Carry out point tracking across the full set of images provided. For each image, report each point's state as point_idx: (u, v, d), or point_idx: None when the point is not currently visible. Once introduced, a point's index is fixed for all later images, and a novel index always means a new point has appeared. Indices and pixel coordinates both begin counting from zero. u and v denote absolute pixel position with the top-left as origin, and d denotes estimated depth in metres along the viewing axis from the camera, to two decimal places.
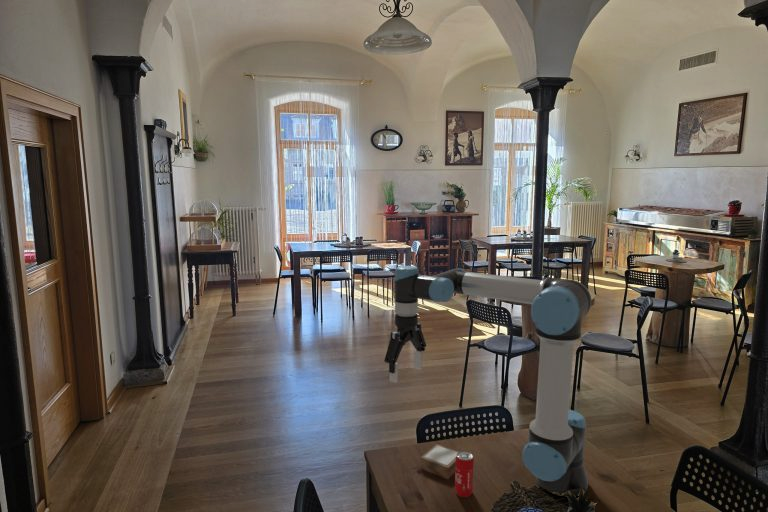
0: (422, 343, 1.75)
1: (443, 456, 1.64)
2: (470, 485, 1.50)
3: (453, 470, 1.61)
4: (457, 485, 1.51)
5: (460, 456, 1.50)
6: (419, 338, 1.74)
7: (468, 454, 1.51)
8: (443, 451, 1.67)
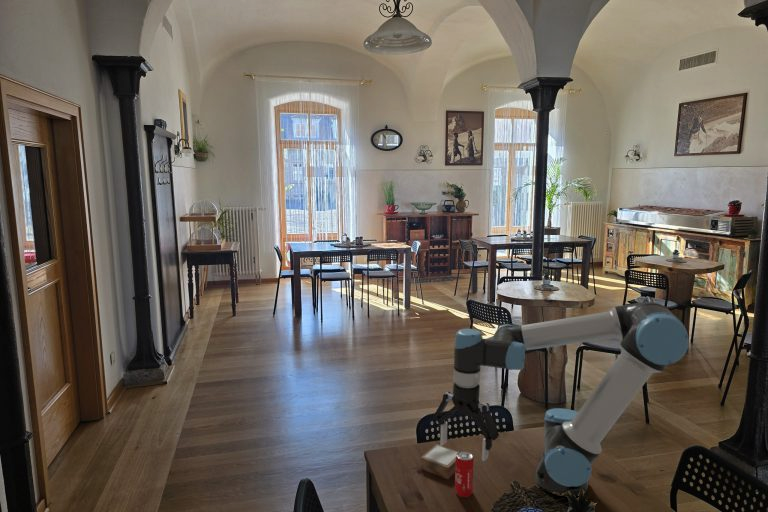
0: (489, 432, 1.43)
1: (443, 456, 1.64)
2: (470, 485, 1.50)
3: (453, 470, 1.61)
4: (457, 485, 1.51)
5: (460, 456, 1.50)
6: None
7: (468, 454, 1.51)
8: (443, 451, 1.67)
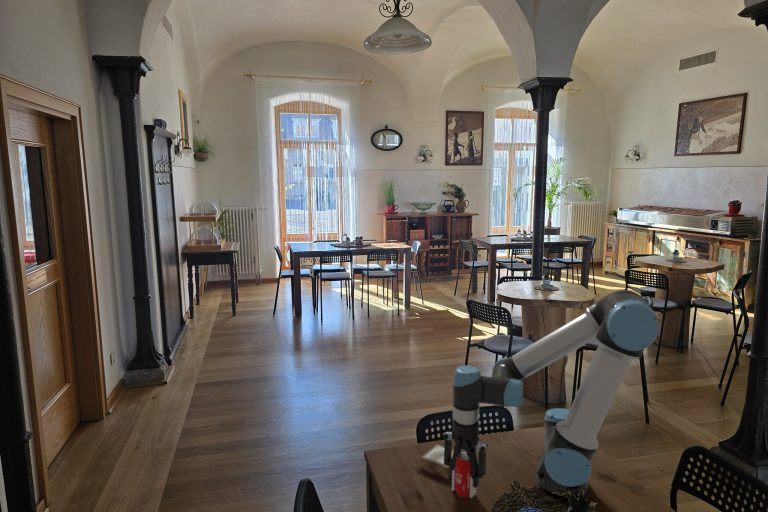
0: None
1: (443, 456, 1.64)
2: None
3: None
4: (457, 485, 1.51)
5: (460, 456, 1.50)
6: None
7: None
8: (443, 451, 1.67)
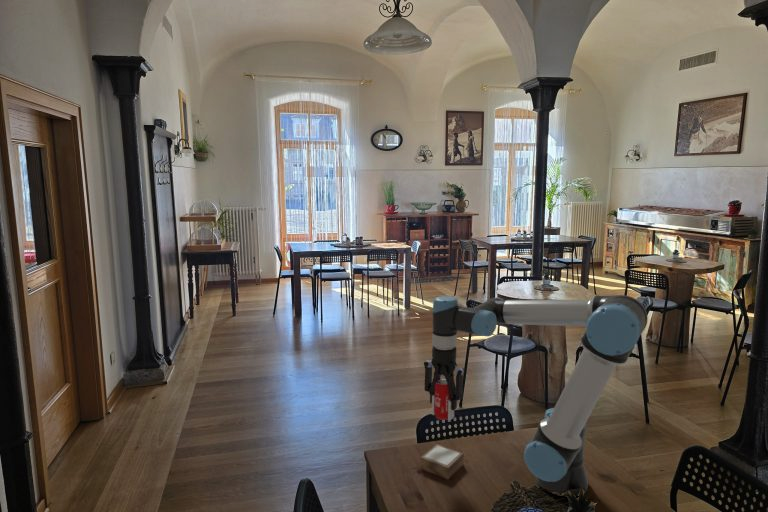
0: (456, 393, 1.58)
1: (443, 456, 1.64)
2: None
3: (453, 470, 1.61)
4: (436, 409, 1.61)
5: (439, 381, 1.61)
6: None
7: None
8: (443, 451, 1.67)
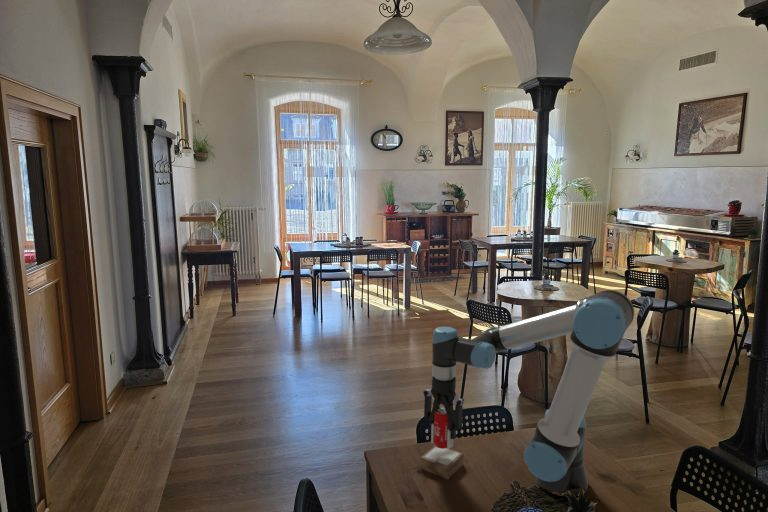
0: (455, 422, 1.60)
1: (443, 456, 1.64)
2: None
3: (453, 470, 1.61)
4: (435, 438, 1.63)
5: (438, 410, 1.62)
6: None
7: None
8: (443, 451, 1.67)
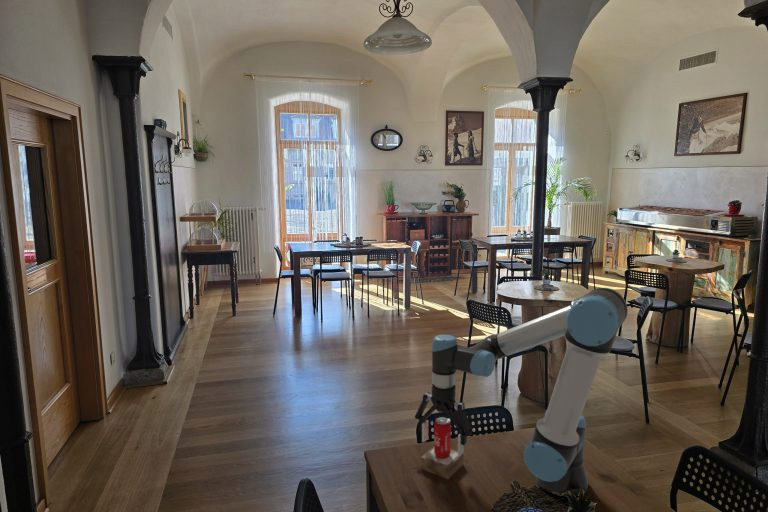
0: (464, 429, 1.58)
1: None
2: (448, 447, 1.63)
3: (453, 470, 1.61)
4: (436, 448, 1.63)
5: (438, 421, 1.63)
6: None
7: (446, 419, 1.64)
8: None
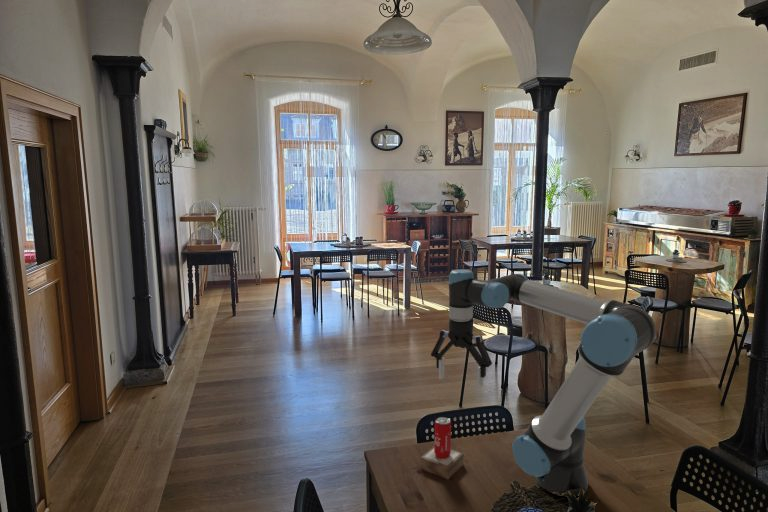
0: (483, 361, 1.59)
1: None
2: (448, 447, 1.63)
3: (453, 470, 1.61)
4: (436, 448, 1.63)
5: (439, 421, 1.63)
6: None
7: (446, 419, 1.64)
8: None
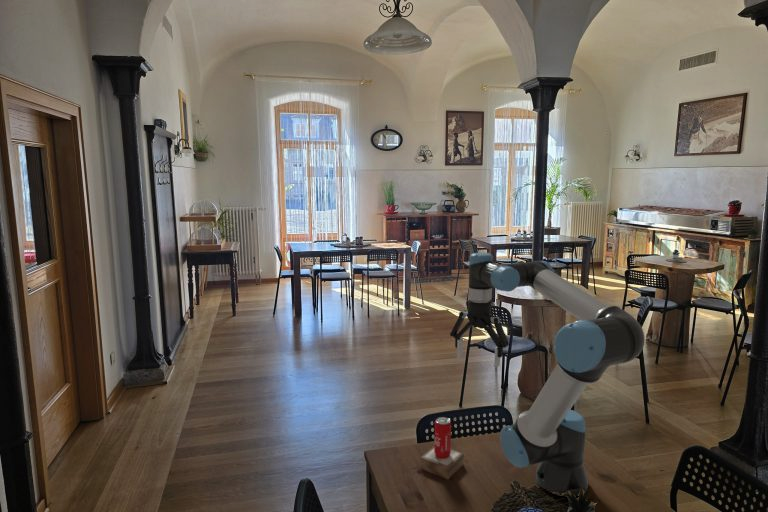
0: (501, 341, 1.64)
1: None
2: (448, 447, 1.63)
3: (453, 470, 1.61)
4: (436, 448, 1.63)
5: (439, 421, 1.63)
6: None
7: (446, 419, 1.64)
8: None
